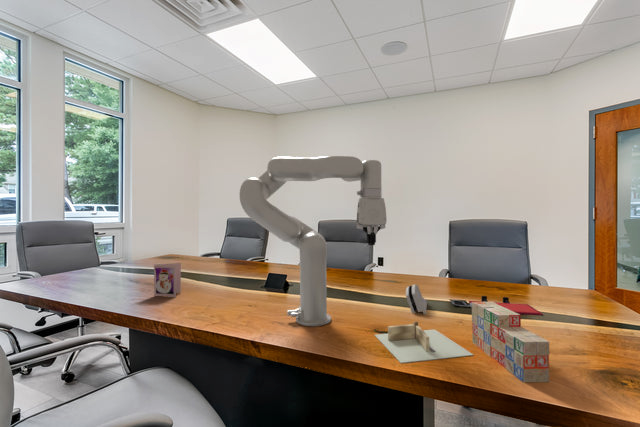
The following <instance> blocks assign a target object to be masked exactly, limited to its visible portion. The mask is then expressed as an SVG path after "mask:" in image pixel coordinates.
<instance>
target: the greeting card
mask: <svg viewBox="0 0 640 427" xmlns="http://www.w3.org/2000/svg"><path fill="white" fill-rule="evenodd" d="M181 265H182V264H181V262H176V263H174V262H173V263H160V264H157V263H156V264H153V297H155V296H168V297H167V298H176V297H177V294H176V293H182V291H181V290H182V288H181V287H182V286H181V282H182V281H181V280H182V278H181V277H182V276H181V275H182V273H181V272H182V271H181V270H182V268H181Z"/></svg>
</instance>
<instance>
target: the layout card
mask: <svg viewBox="0 0 640 427" xmlns="http://www.w3.org/2000/svg"><path fill="white" fill-rule="evenodd" d="M422 330H423V329H422ZM423 331H424V332H425V333H426V334H427V335H428V336H429V346H430V351H426V350H425V348H424V347H423V346H422V345H421V344H420V342H419V341H418V340H417V339H416V338H415V339H404V340H394V341H389V340H388V333H378V334H374V337H376V339H378V341H379V342H380V343H381V344H382V345H383V346H384V347H385V348H386V349H387V350H388V351H389V353H391V355H393V357H394V358H395V359H396V360H397V361H398V362H399V363H400V364H406V363H407V364H408V363H416V362H423V361H425V362H426V361H435V360H442V359H452V358H461V357H470V356H474V353H472V352H470V351H469V350H468V349H466V348H464V347H463V346H461V345H459V344H458V343H456V342H455V341H453V340H451V339H450V338H449V337H447V336H446V335H444V334H443V333H441V332H440V331H438V330H436V329H424V330H423Z"/></svg>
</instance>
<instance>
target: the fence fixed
mask: <svg viewBox="0 0 640 427" xmlns="http://www.w3.org/2000/svg"><path fill="white" fill-rule="evenodd" d="M416 326H419V322H418V321H414V322H413V323H412V324H399V325H389V326H388V325H387V334H388V340H389V341H394V340H404V339H415V338H416Z"/></svg>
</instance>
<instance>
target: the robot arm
mask: <svg viewBox="0 0 640 427" xmlns="http://www.w3.org/2000/svg"><path fill="white" fill-rule="evenodd" d="M334 178H335V179H342V180H343V181H344V182H356V181H357V182H358V181H360V190H359V191H358V190H357V191H356V194H357V196H359V197H360V198H358V201H357V202H358V203H357V207H356V209H357V210H356V224H357V225H356V229H359V230H362V231H363V232H364V233H365V234H366V243H367V245H368V246H375V244H376V243H377V234H378V232H379V231H381V230H383V229H386V224H387V209H386V203H385V198H383V197H382V163H381V161H379V160H377V159H367V160H363V161H361V159H360V158H358V157H356V156H349V155H348V156H344V155H328V156H317V157H316V156H315V157H300V156H299V157H298V156H296V157H294V156H293V157H292V156H277V157H273V158H271V159H270V160H269V161H268V163H267V167H266V171H265V172H264V173H263V174H261V175H260V176H259V177H249V178H246V179H245V180H244V181H243V182H242V183H241V185H240V189H239V201H240V202H239V203H240V205H241V207H242V209H243V211H244V213H245V214H246V215H247V216H248V217H249V218H250V219H251V220H253V222H255V223H257V224H258V225H260V226H261V227H262V228H264V229H265V230H267V231H268V232H270V233H271V234H272V235H274V236H276V237H277V238H278V239H279V240H281V241H282V242H286V243H289V244H290V245H292V246H293V247H295V248H296V249H299V282H300V283H299V290H300V291H299V295H300V296H299V298H300V299H299V302H300V304H299V305H298V308H296V309H288V310H287V311H286V314H287V316H289V317H290V316H291V318H295V322H296V323H297V324H299V325H302V326H306V327H319V326H325V325H327V324H330V322H331V321H332V316H331V315H330V314H329V313H327V309H328V308H327V307H328V306H327V288H328V287H327V256H328V247H327V246H328V245H327V242H326V239H325V237H324V236H323V235H322V234H321V233H319V232H317V231H316V230H315V229H313V228H311V227H310V226H308V225H307V224H305V223H304V222H302V221H301V220H300V219H298V218H296V217H294V216H292V215H290V214H287V213H285V212H283V210H281V209H280V208H278V207H277V206H275V205H273V204H272V203H270V202H269V201H268V199H269V198H271V196H272V195H274V194H275V193H276V192H277V191H279V189H281V187H282V188H283V186H284V185H285V184H286V183H287V182H316V181H317V182H318V181H320V180H323V179H334Z"/></svg>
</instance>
